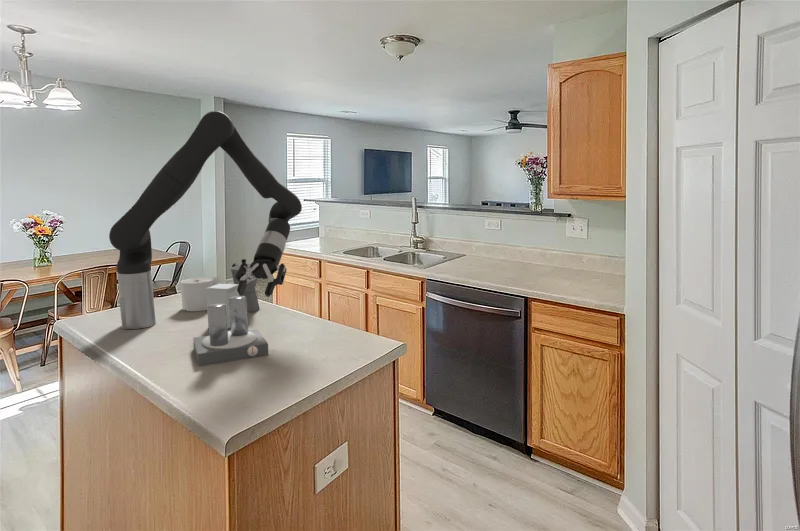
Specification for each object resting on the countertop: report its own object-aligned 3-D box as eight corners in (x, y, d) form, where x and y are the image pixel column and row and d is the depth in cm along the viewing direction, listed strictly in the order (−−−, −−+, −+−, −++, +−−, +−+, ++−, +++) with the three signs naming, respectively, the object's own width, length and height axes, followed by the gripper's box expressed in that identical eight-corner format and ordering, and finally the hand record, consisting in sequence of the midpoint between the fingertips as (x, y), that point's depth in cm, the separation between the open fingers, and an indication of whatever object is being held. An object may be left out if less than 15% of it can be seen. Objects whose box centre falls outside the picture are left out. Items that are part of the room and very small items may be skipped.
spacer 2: (232, 336, 131) (230, 300, 130) (230, 332, 135) (227, 297, 133) (249, 334, 133) (247, 298, 131) (246, 330, 137) (244, 295, 135)
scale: (198, 366, 120) (197, 352, 120) (194, 348, 133) (193, 335, 132) (268, 354, 128) (268, 341, 127) (257, 339, 141) (257, 327, 140)
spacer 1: (211, 347, 123) (208, 308, 121) (209, 342, 127) (206, 304, 125) (229, 344, 125) (226, 306, 123) (227, 339, 129) (224, 302, 127)
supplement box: (229, 329, 150) (226, 288, 148) (207, 327, 152) (204, 287, 149) (241, 322, 157) (239, 283, 155) (220, 321, 159) (218, 282, 157)
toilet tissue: (175, 310, 172) (173, 282, 170) (198, 302, 183) (196, 276, 181) (201, 312, 169) (199, 284, 167) (223, 304, 180) (221, 277, 178)
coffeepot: (268, 310, 171) (265, 259, 168) (242, 315, 165) (239, 263, 162) (247, 302, 182) (244, 254, 179) (222, 307, 176) (219, 257, 172)
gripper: (244, 241, 148) (225, 286, 139) (287, 242, 145) (271, 288, 136) (254, 255, 154) (236, 300, 145) (296, 257, 151) (280, 302, 142)
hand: (253, 294), depth 140 cm, fingers open, 8 cm apart
